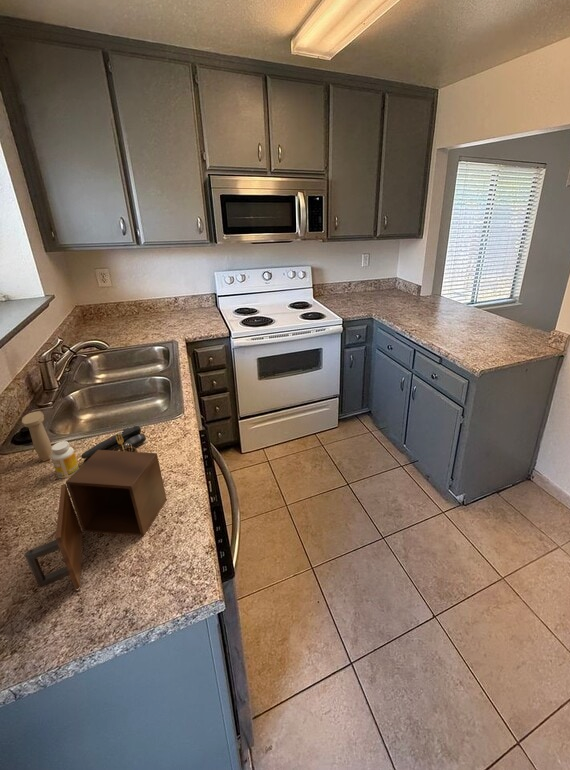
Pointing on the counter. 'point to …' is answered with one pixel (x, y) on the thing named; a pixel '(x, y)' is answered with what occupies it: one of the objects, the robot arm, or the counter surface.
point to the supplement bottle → (64, 459)
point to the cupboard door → (61, 546)
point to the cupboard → (118, 492)
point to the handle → (38, 434)
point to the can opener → (111, 443)
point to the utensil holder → (129, 449)
